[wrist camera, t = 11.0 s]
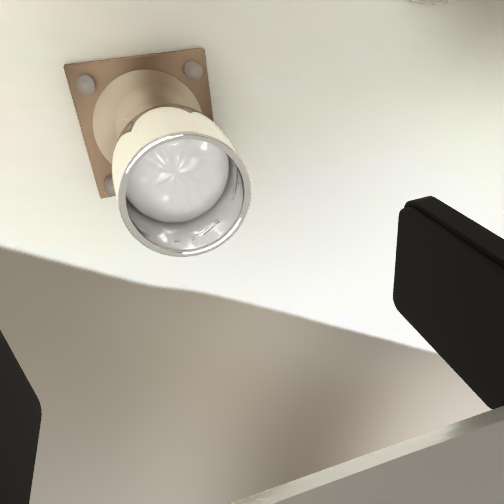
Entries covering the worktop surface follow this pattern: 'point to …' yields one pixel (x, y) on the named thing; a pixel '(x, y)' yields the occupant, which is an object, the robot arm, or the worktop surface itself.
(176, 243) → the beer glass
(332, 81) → the worktop surface
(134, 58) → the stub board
